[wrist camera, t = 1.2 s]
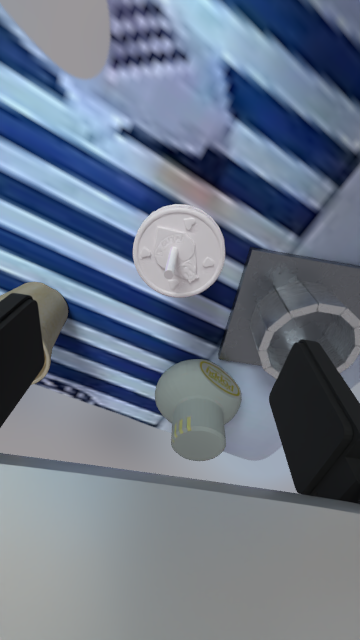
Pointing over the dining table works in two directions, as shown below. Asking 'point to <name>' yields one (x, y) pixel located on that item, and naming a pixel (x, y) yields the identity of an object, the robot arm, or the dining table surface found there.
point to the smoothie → (179, 251)
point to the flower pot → (45, 316)
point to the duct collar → (293, 310)
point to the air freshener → (197, 407)
